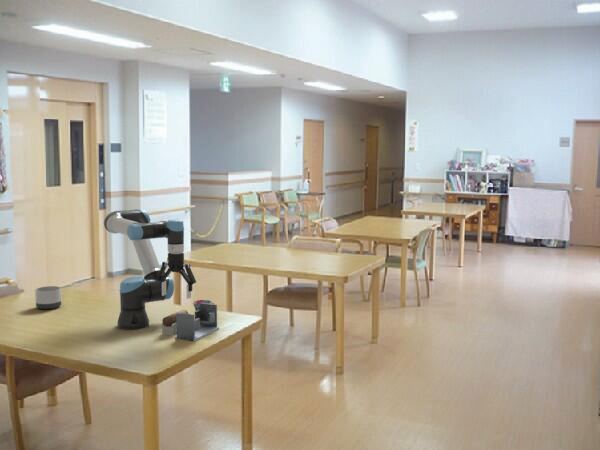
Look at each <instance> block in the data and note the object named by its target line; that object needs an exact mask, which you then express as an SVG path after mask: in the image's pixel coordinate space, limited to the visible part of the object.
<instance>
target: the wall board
mask: <svg viewBox="0 0 600 450" xmlns="http://www.w3.org/2000/svg"><path fill="white" fill-rule="evenodd" d="M218 330H220V326H217V327H209V326H202V325H200V329H199V330H197V331H195V338H194V341H193V342H197V341H200V340H201V339H203V338H205V337H207V336H209V335H210V334H212V333H214V332H216V331H218ZM180 338H182V337H180ZM174 339H177V335H174ZM184 339H185V340H184V341H187V340H186V338H184ZM187 339H188V338H187ZM177 340H178V339H177ZM189 340H190V338H189ZM189 340H188V341H189Z"/></svg>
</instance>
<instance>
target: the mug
mask: <svg viewBox="0 0 600 450" xmlns="http://www.w3.org/2000/svg"><path fill="white" fill-rule="evenodd" d="M200 303H207V304H215V303H214V302H212V301H211V300H210V299H209V300H208V299H198V300H194V301H192V305H193V307H194V310H195V311H198V310H200ZM195 311H194V312H195Z"/></svg>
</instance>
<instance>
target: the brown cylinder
mask: <svg viewBox="0 0 600 450" xmlns="http://www.w3.org/2000/svg"><path fill="white" fill-rule="evenodd" d="M176 313H185V314H189V312H188V310H187V309H182V310H179V311H176V312H175V313H172V314H169V315H167V316H165V317H163V318H162V322H161V323H163V325H164V326H166V327H168V326H170V325H172V324H174V323H176Z"/></svg>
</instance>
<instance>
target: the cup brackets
mask: <svg viewBox="0 0 600 450" xmlns="http://www.w3.org/2000/svg"><path fill="white" fill-rule="evenodd" d="M175 313H176V312H175ZM200 325H202V326H209V327H218V304H215V303H214V304H207V303H200V310H198V311H194V314H191V313H188V314H185V313H176V333H177V334H176V336H177V340H183V341H189V342H190V341H191V342H195V341H194V338H195V331H197V330H199V329H200ZM180 337H182V338H180ZM184 338H186V340H185V339H184ZM187 338H188V339H187ZM189 338H190V340H189Z"/></svg>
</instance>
